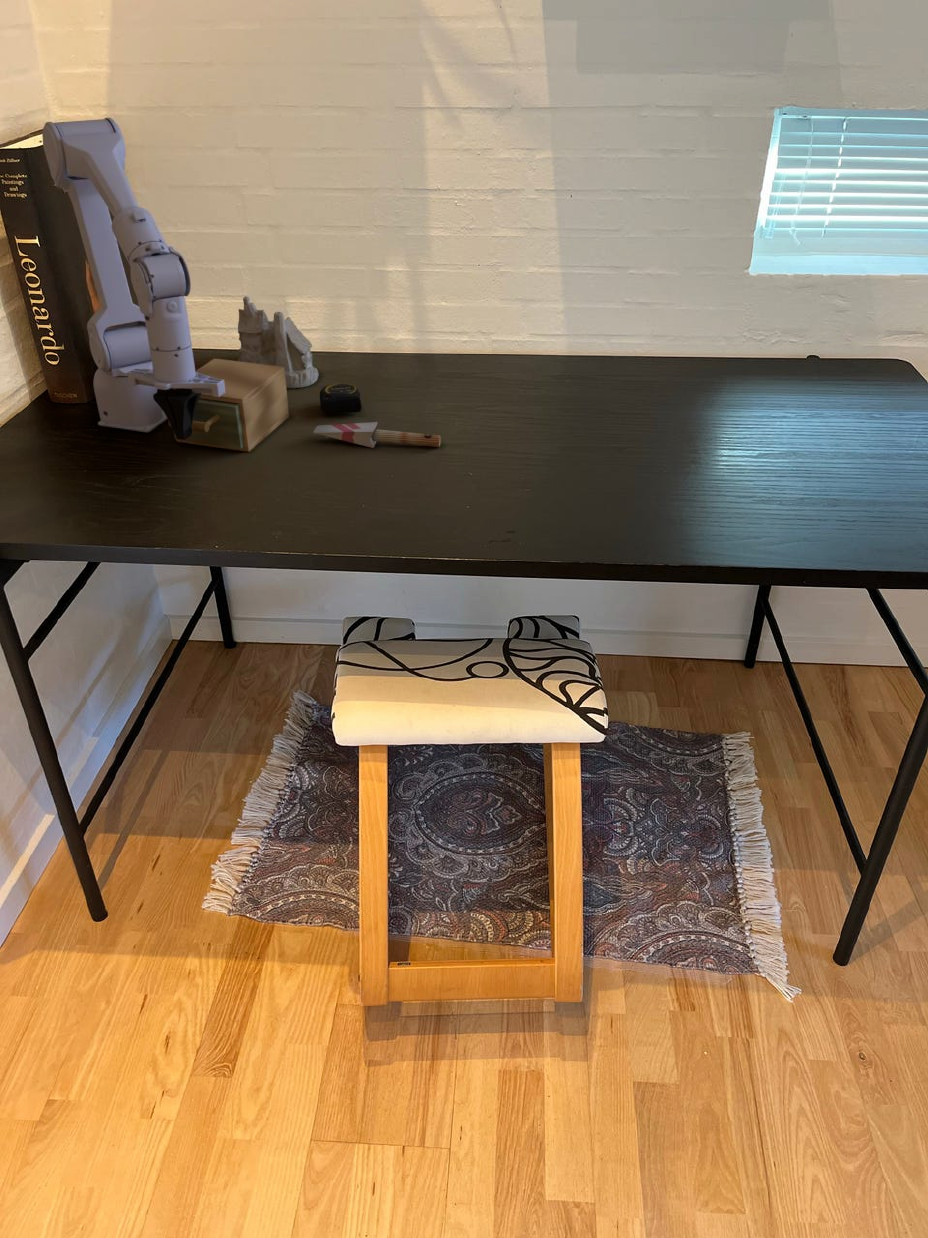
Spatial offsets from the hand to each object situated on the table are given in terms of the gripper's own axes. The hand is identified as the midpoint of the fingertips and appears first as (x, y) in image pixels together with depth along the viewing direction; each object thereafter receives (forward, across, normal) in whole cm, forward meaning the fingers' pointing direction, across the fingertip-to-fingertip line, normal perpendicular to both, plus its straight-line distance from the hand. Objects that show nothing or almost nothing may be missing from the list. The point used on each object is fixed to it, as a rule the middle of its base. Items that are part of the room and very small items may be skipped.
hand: (184, 436), depth 140 cm
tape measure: (+4, +14, +27) cm, 30 cm away
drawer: (+3, 0, +10) cm, 11 cm away
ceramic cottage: (+4, -5, +40) cm, 41 cm away
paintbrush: (+4, +24, +17) cm, 29 cm away
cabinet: (+4, 0, +14) cm, 15 cm away
